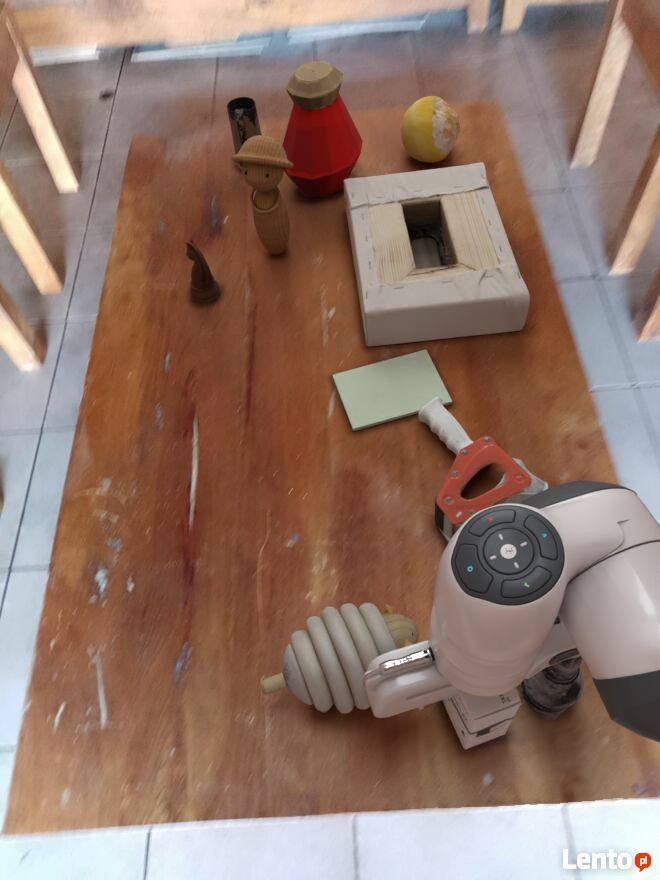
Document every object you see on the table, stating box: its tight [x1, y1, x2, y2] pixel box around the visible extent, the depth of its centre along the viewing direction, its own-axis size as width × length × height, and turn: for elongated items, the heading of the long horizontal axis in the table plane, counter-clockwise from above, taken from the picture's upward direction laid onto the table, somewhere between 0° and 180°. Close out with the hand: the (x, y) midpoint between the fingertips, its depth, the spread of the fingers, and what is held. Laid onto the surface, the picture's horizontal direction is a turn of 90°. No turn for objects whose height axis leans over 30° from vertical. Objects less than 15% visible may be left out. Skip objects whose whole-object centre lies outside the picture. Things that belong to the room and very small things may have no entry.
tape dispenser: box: [417, 397, 549, 544], centre depth 88 cm, size 18×5×20 cm
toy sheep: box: [259, 602, 420, 714], centre depth 72 cm, size 11×17×11 cm, turn 115°
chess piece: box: [184, 238, 221, 305], centre depth 109 cm, size 5×5×10 cm
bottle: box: [281, 60, 364, 199], centre depth 119 cm, size 16×14×20 cm
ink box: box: [441, 687, 522, 750], centre depth 70 cm, size 8×5×12 cm, turn 19°
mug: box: [226, 96, 263, 170], centre depth 127 cm, size 8×6×12 cm
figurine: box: [230, 134, 293, 255], centre depth 109 cm, size 9×7×20 cm
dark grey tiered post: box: [520, 656, 584, 716], centre depth 70 cm, size 6×6×12 cm
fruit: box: [400, 95, 461, 163], centre depth 125 cm, size 10×11×10 cm
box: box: [343, 161, 531, 347], centre depth 109 cm, size 23×8×32 cm
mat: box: [331, 348, 453, 432], centre depth 99 cm, size 14×10×1 cm
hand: (467, 685), depth 70 cm, fingers open, 8 cm apart
